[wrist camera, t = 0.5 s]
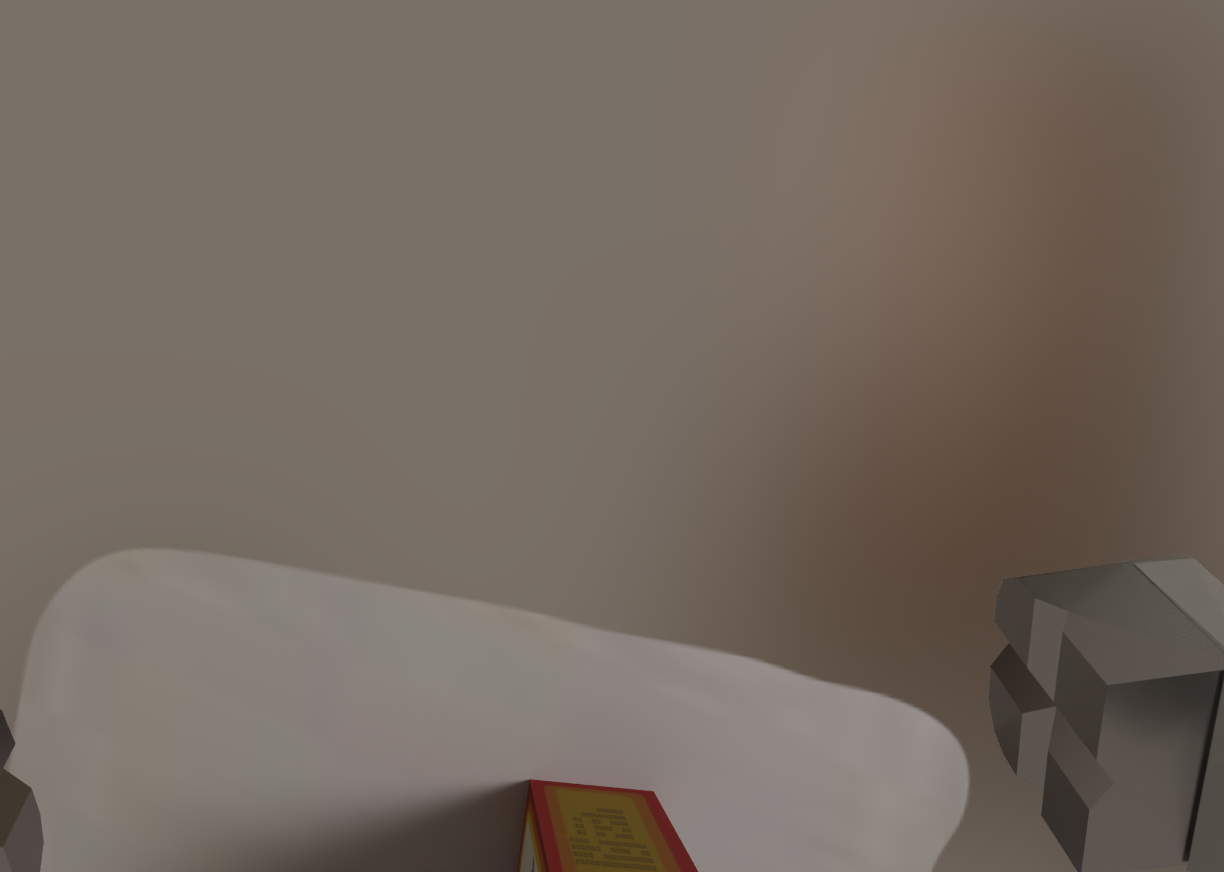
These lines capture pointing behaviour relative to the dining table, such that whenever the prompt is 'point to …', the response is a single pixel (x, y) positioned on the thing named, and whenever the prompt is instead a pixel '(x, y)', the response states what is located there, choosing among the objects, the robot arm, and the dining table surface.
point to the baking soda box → (598, 831)
